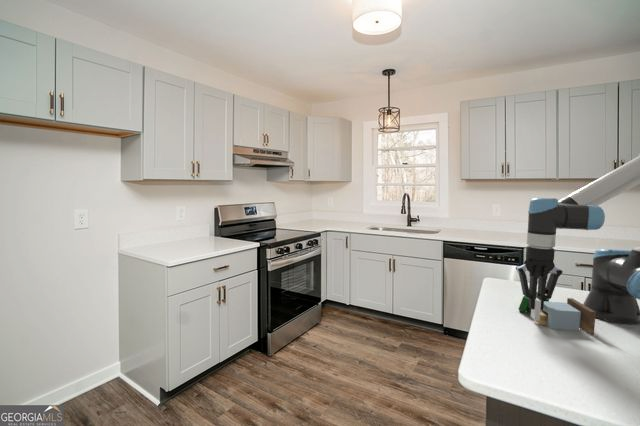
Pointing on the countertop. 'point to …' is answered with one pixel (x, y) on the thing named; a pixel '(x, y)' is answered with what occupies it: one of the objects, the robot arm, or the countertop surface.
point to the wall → (584, 316)
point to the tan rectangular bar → (543, 318)
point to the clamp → (526, 304)
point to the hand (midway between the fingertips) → (535, 318)
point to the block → (562, 316)
